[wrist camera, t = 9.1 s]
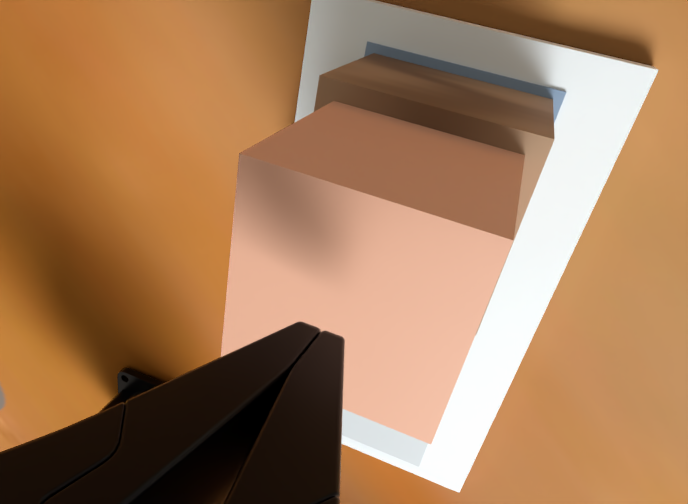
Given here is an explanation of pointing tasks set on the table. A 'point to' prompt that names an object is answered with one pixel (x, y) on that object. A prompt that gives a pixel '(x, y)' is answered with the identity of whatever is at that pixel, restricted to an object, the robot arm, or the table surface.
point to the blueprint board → (541, 214)
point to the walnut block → (449, 109)
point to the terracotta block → (373, 252)
